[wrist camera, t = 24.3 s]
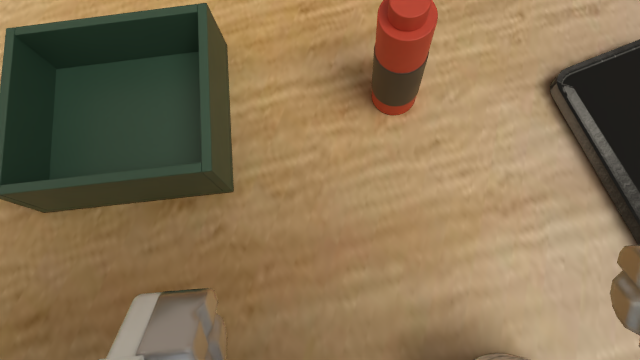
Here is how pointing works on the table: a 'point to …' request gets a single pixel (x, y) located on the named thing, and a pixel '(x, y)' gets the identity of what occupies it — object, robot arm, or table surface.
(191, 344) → the robot arm
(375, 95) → the red and grey bottle
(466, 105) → the table surface
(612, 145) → the phone
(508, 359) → the mug
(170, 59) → the dark green open box
